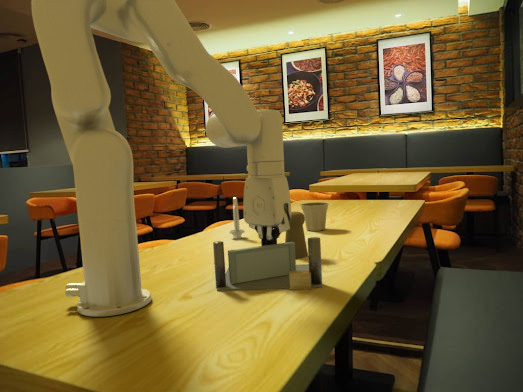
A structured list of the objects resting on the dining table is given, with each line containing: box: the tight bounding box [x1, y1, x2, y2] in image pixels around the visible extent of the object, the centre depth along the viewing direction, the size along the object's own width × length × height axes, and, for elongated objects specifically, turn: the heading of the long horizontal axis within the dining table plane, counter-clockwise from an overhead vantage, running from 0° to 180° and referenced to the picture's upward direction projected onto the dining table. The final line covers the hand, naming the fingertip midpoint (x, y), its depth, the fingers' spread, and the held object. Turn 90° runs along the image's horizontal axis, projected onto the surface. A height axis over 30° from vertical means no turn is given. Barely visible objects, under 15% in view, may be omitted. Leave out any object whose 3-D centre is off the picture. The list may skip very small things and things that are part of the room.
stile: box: [289, 236, 323, 291], centre depth 81 cm, size 6×4×9 cm, turn 86°
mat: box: [216, 263, 323, 292], centre depth 88 cm, size 20×16×1 cm
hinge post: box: [212, 240, 226, 289], centre depth 83 cm, size 2×2×9 cm
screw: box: [229, 196, 245, 240], centre depth 132 cm, size 13×5×5 cm
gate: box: [227, 242, 297, 284], centre depth 86 cm, size 14×1×6 cm, turn 111°
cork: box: [284, 211, 308, 259], centre depth 105 cm, size 6×6×11 cm
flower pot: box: [300, 201, 330, 232], centre depth 140 cm, size 9×9×9 cm
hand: (269, 257), depth 90 cm, fingers closed
